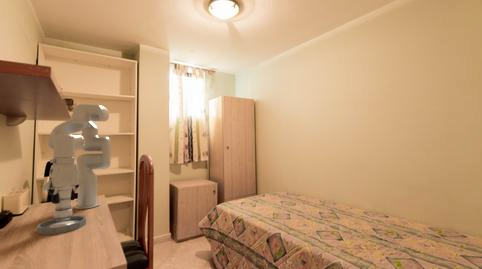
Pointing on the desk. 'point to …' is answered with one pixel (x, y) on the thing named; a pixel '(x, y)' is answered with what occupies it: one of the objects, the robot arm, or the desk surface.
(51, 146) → the robot arm
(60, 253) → the desk surface
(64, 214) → the plastic bottle
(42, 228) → the round tray
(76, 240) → the desk surface
